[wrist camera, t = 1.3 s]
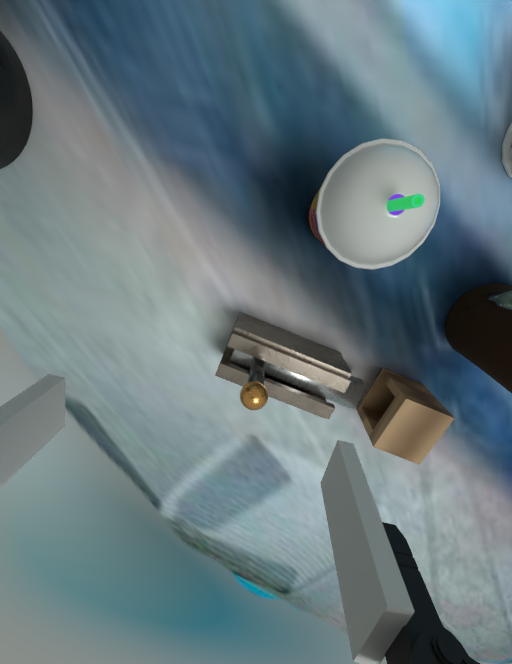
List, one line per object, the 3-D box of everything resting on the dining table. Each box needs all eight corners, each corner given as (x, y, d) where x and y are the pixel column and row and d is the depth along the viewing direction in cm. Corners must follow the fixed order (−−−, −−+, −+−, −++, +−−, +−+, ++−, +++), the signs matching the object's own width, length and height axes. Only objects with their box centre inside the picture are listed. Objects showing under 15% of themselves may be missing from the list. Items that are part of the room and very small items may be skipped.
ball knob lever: (232, 352, 39) (214, 408, 27) (243, 327, 37) (229, 373, 26) (344, 397, 40) (374, 469, 28) (358, 374, 39) (395, 438, 27)
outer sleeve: (223, 354, 40) (213, 378, 34) (240, 312, 38) (234, 329, 32) (318, 392, 41) (326, 422, 35) (340, 352, 39) (353, 377, 33)
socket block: (356, 409, 42) (373, 446, 35) (382, 367, 40) (406, 398, 32) (395, 424, 42) (419, 464, 35) (422, 384, 40) (454, 418, 33)
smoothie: (390, 193, 33) (548, 147, 14) (352, 265, 35) (441, 308, 17) (321, 160, 32) (388, 66, 13) (288, 235, 35) (304, 246, 16)
